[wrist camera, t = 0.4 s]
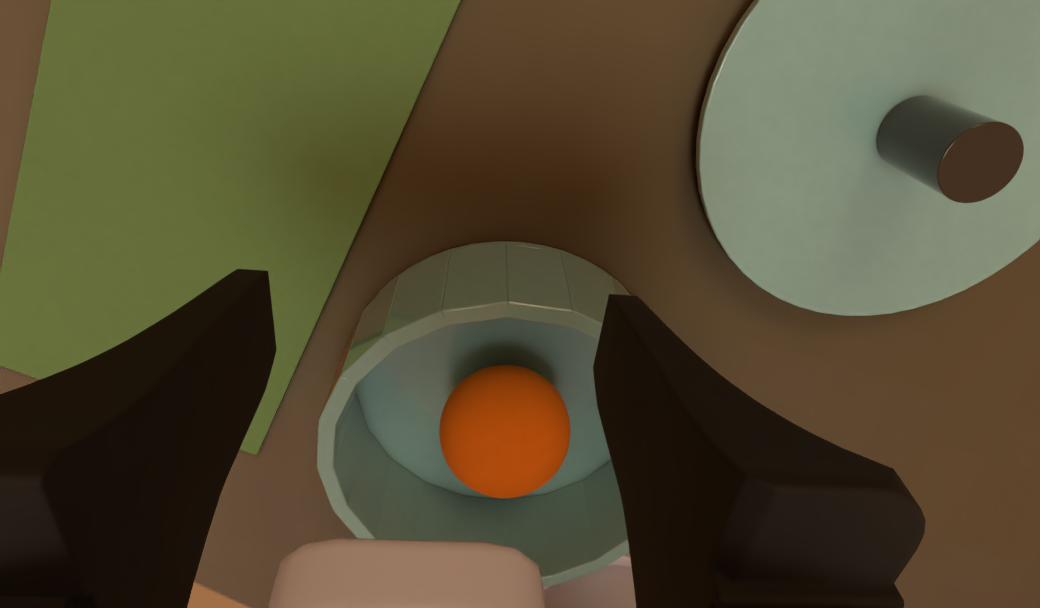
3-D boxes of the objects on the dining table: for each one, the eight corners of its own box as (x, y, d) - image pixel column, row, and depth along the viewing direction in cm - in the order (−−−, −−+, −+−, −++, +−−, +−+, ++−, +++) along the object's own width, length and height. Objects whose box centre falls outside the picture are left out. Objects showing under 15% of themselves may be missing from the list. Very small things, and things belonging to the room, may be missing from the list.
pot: (562, 534, 32) (572, 626, 28) (300, 440, 29) (266, 527, 25) (724, 326, 27) (767, 400, 23) (424, 180, 24) (408, 235, 19)
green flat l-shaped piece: (258, 451, 29) (256, 455, 29) (-12, 355, 27) (-17, 360, 26) (483, -49, 20) (482, -49, 20) (107, -271, 18) (101, -274, 17)
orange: (528, 453, 29) (534, 543, 25) (424, 412, 28) (410, 500, 24) (586, 369, 27) (603, 451, 23) (476, 320, 26) (473, 398, 22)
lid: (901, 354, 28) (972, 426, 24) (614, 206, 24) (638, 261, 20) (1205, 32, 22) (1367, 54, 18) (885, -225, 19) (995, -270, 14)
